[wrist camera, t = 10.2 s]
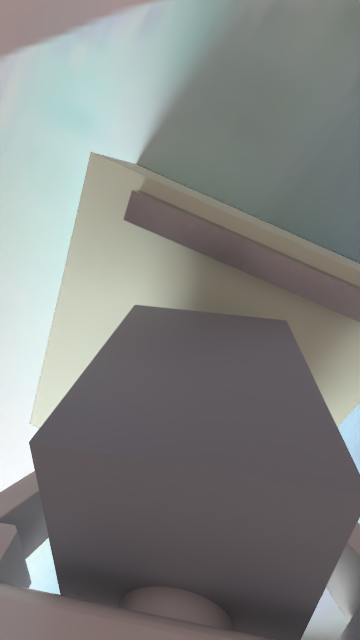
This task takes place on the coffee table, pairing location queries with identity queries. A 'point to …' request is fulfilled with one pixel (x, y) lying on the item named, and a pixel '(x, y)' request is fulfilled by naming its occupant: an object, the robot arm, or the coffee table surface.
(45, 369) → the stand
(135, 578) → the block
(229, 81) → the coffee table surface
